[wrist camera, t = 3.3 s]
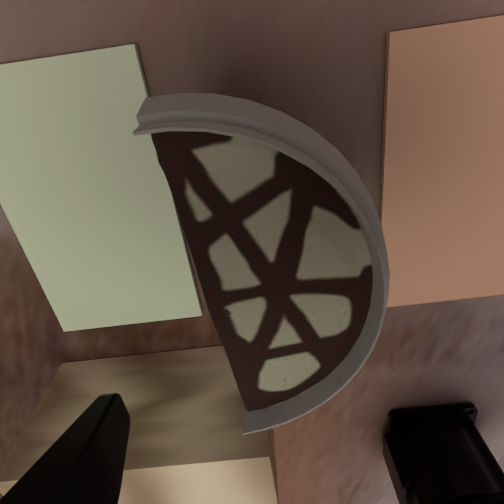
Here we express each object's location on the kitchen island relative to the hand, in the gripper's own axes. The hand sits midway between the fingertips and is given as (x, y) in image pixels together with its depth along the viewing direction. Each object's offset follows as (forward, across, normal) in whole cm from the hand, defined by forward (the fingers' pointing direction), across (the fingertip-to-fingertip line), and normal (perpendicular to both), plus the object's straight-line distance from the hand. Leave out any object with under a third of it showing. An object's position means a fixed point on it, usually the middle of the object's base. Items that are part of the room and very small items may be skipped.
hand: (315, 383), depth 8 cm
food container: (+13, 0, 0) cm, 13 cm away
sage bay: (+13, +10, 0) cm, 16 cm away
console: (+13, +9, +13) cm, 20 cm away
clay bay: (+13, -10, +1) cm, 16 cm away
